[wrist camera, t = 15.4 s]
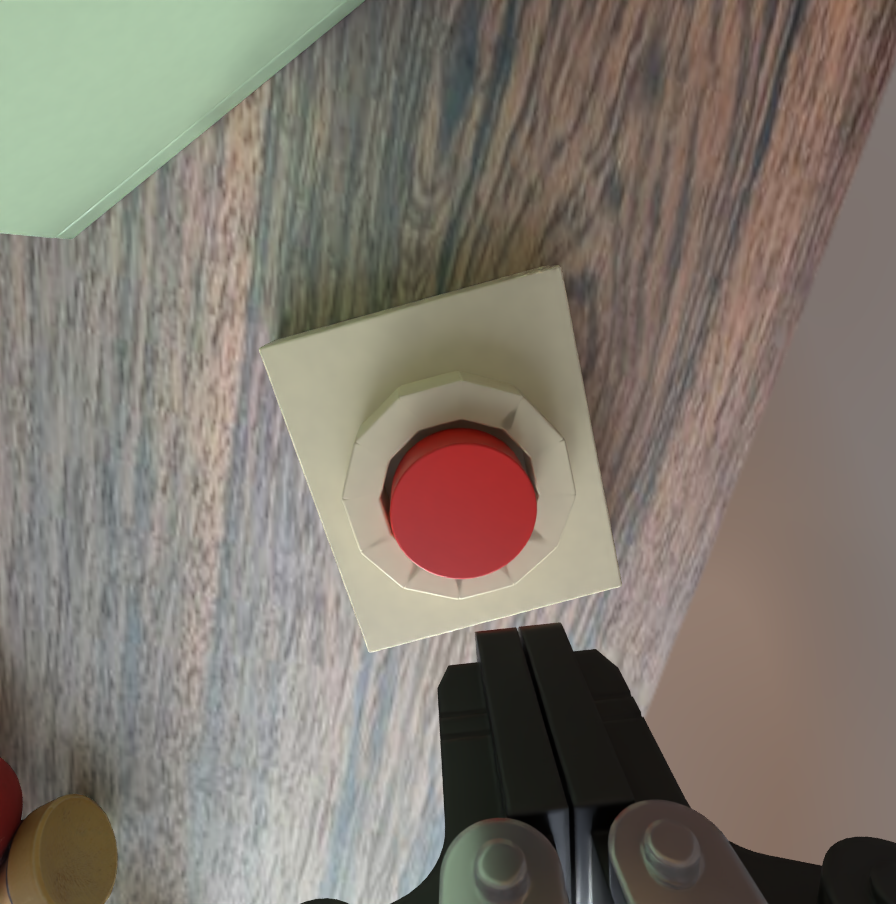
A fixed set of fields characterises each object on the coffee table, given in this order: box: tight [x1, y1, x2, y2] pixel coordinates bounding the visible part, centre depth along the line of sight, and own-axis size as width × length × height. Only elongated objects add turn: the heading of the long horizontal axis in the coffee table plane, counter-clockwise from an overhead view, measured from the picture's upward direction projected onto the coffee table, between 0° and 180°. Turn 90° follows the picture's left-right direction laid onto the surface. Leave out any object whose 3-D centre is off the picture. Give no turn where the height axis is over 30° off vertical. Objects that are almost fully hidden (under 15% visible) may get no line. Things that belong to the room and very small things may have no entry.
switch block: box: [259, 265, 622, 652], centre depth 20 cm, size 10×12×4 cm
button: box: [390, 428, 537, 579], centre depth 18 cm, size 4×4×2 cm
